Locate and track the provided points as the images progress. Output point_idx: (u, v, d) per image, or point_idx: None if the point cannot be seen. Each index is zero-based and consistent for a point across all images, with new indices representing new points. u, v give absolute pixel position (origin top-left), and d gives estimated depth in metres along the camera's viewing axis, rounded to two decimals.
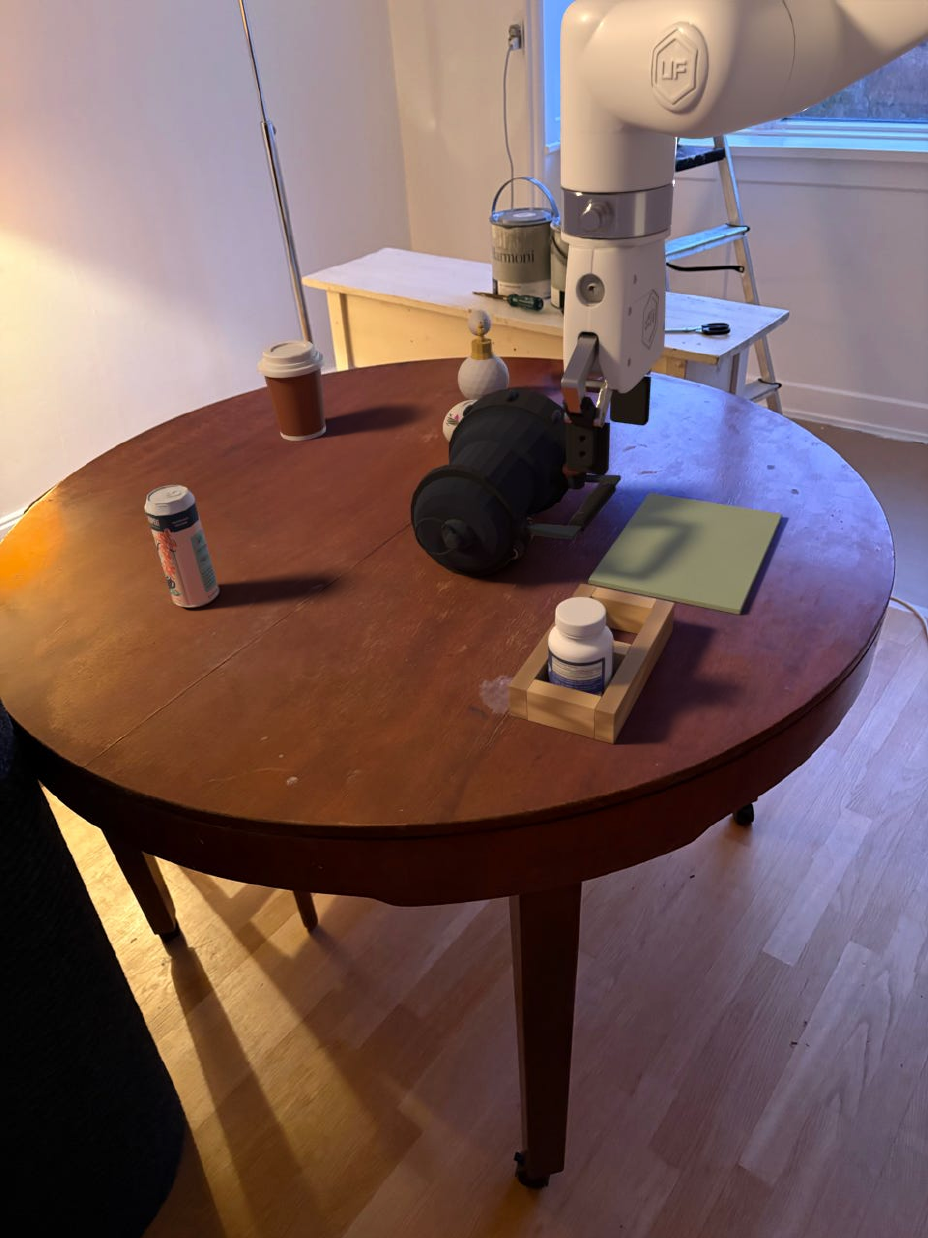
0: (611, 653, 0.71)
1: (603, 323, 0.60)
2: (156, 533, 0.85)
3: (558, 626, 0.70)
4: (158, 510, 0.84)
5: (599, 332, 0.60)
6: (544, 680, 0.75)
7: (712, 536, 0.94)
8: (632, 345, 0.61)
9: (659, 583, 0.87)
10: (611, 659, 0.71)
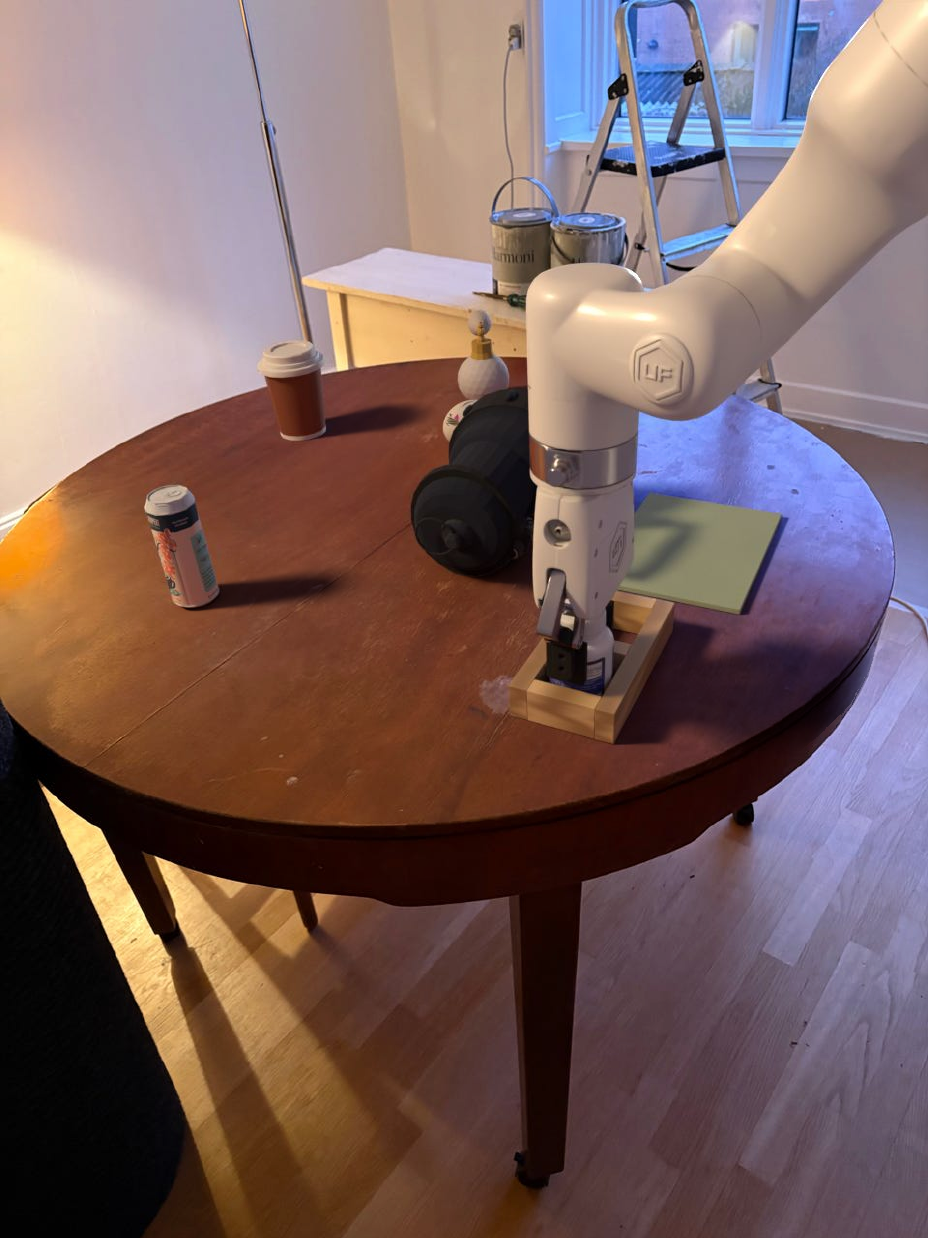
0: (611, 653, 0.71)
1: (570, 563, 0.62)
2: (156, 533, 0.85)
3: None
4: (158, 510, 0.84)
5: (566, 577, 0.63)
6: (544, 680, 0.75)
7: (712, 536, 0.94)
8: (599, 579, 0.63)
9: (659, 583, 0.87)
10: (611, 659, 0.71)
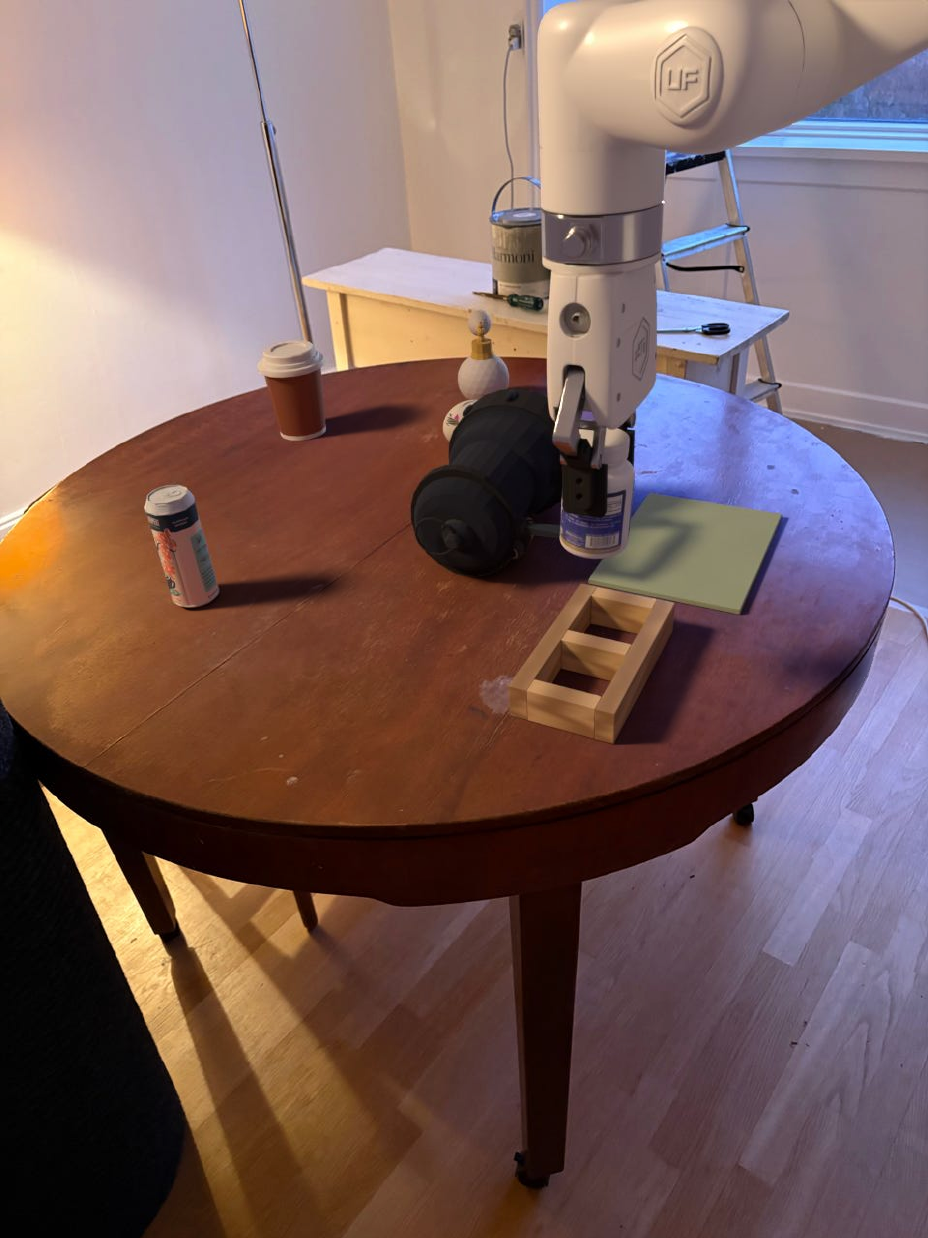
0: (632, 488, 0.65)
1: (589, 356, 0.55)
2: (156, 533, 0.85)
3: None
4: (158, 510, 0.84)
5: (585, 374, 0.56)
6: (544, 680, 0.75)
7: (712, 536, 0.94)
8: (621, 378, 0.57)
9: (659, 583, 0.87)
10: (631, 495, 0.65)
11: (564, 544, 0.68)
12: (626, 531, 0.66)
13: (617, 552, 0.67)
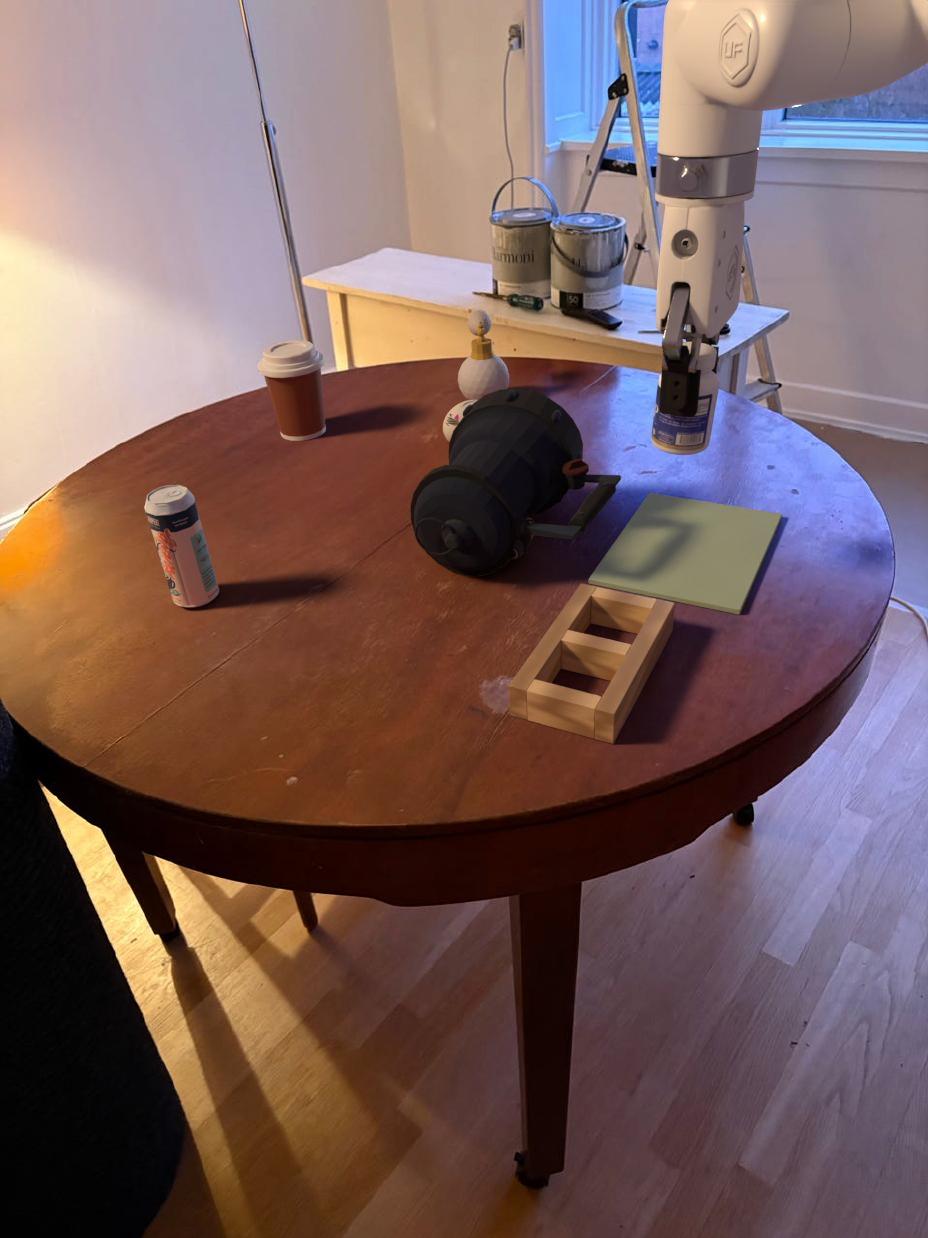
0: (717, 393, 0.78)
1: (695, 273, 0.68)
2: (156, 533, 0.85)
3: None
4: (158, 510, 0.84)
5: (690, 290, 0.69)
6: (544, 680, 0.75)
7: (712, 536, 0.94)
8: (719, 293, 0.69)
9: (659, 583, 0.87)
10: (715, 400, 0.78)
11: (655, 444, 0.81)
12: (709, 432, 0.79)
13: (701, 449, 0.80)
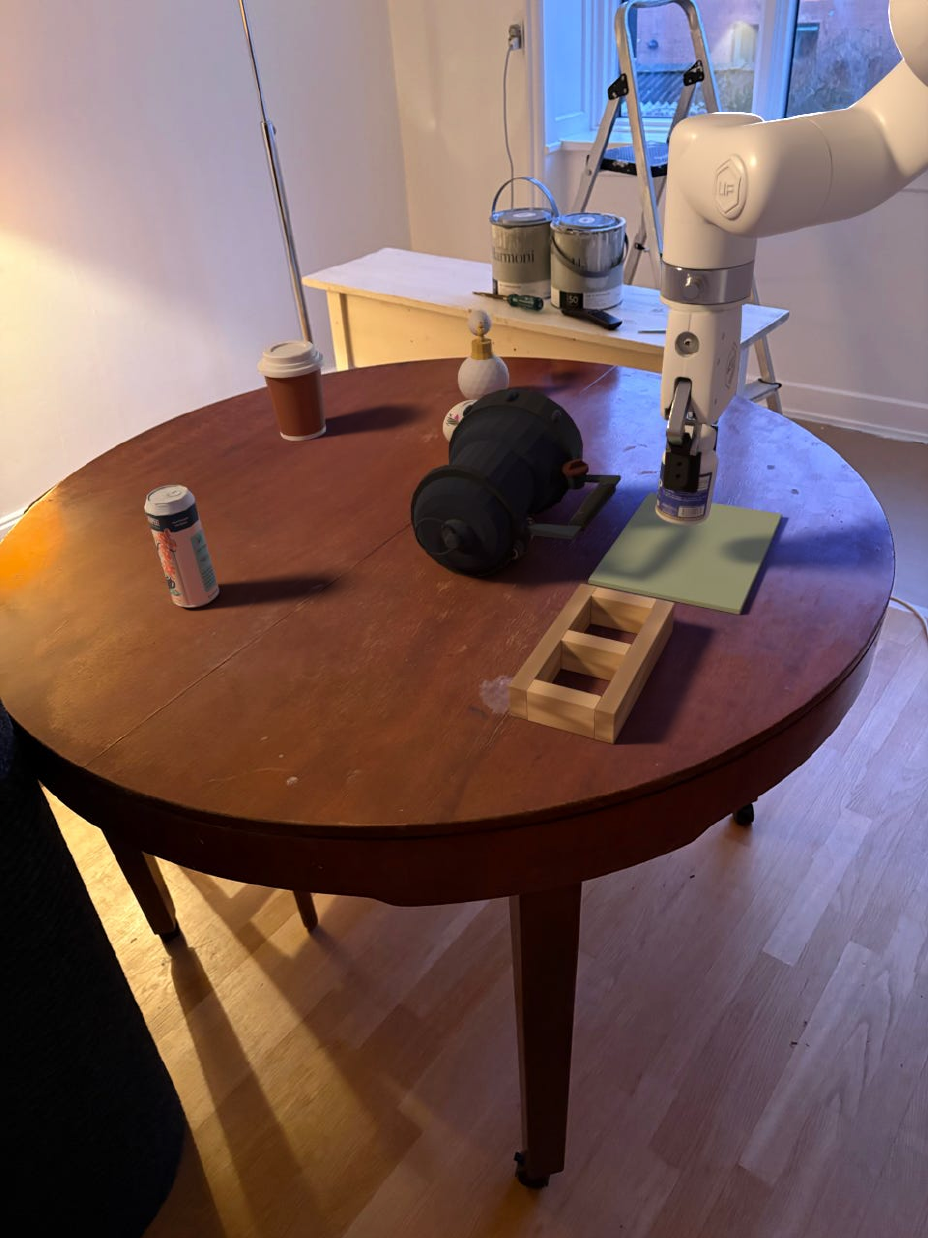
0: (716, 470, 0.84)
1: (696, 370, 0.75)
2: (156, 533, 0.85)
3: None
4: (158, 510, 0.84)
5: (692, 384, 0.75)
6: (544, 680, 0.75)
7: (712, 536, 0.94)
8: (718, 387, 0.76)
9: (659, 583, 0.87)
10: (715, 476, 0.84)
11: (659, 514, 0.87)
12: (709, 504, 0.86)
13: (702, 520, 0.86)
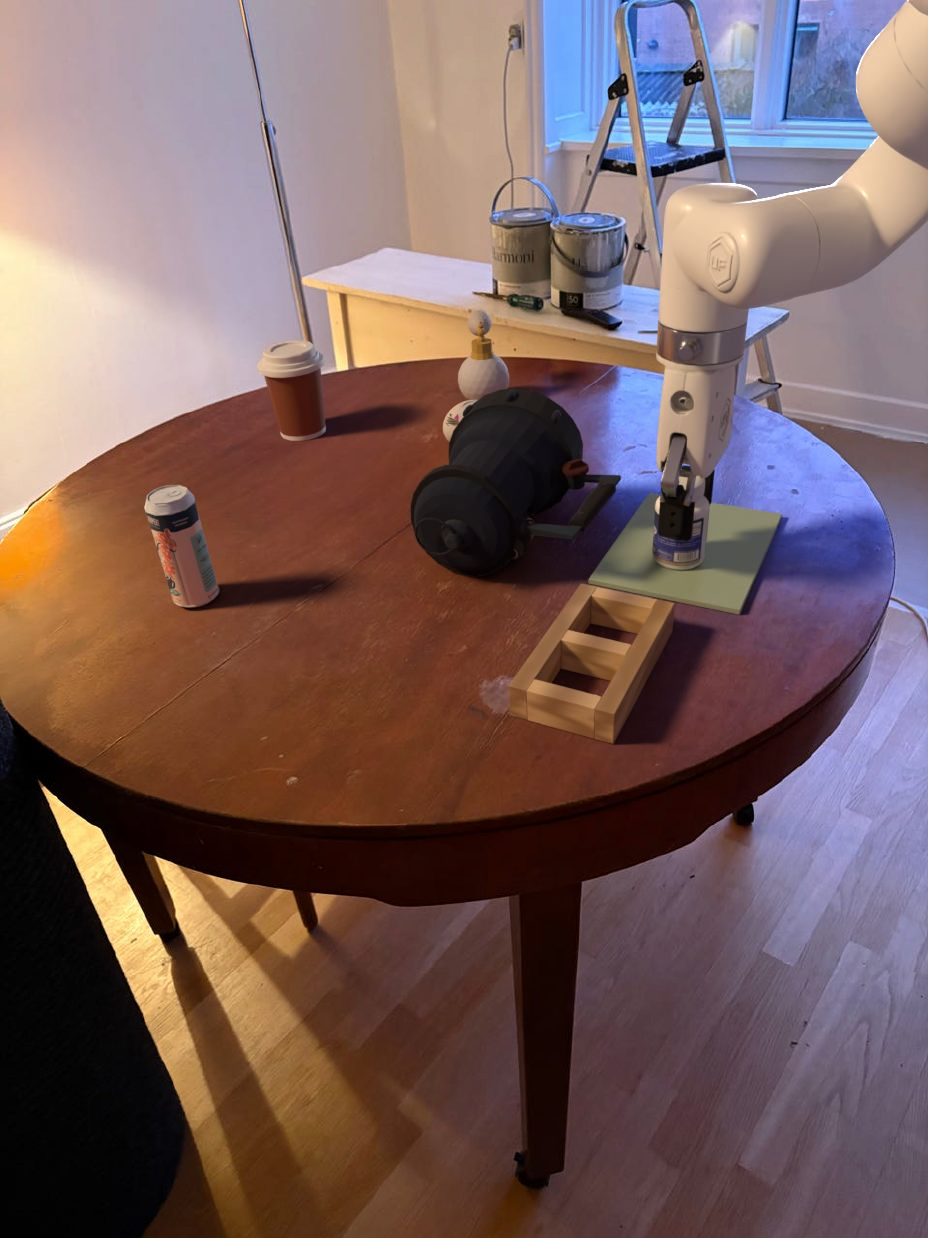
0: (708, 516, 0.87)
1: (691, 427, 0.77)
2: (156, 533, 0.85)
3: None
4: (158, 510, 0.84)
5: (687, 438, 0.78)
6: (544, 680, 0.75)
7: (712, 536, 0.94)
8: (712, 442, 0.79)
9: (659, 583, 0.87)
10: (707, 521, 0.87)
11: (656, 560, 0.90)
12: (704, 548, 0.89)
13: (697, 564, 0.89)
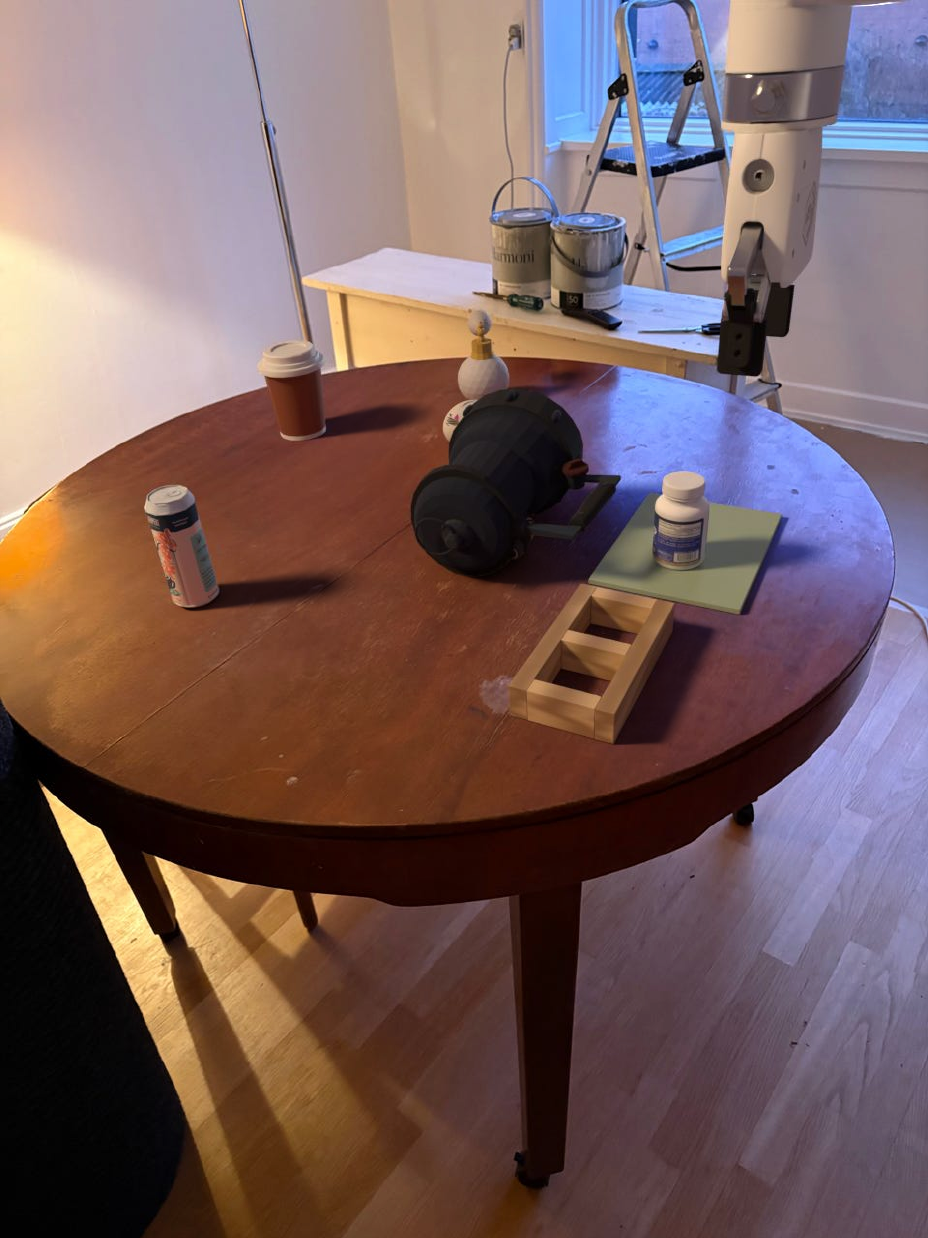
0: (708, 516, 0.87)
1: (770, 211, 0.59)
2: (156, 533, 0.85)
3: (666, 492, 0.86)
4: (158, 510, 0.84)
5: (765, 221, 0.60)
6: (544, 680, 0.75)
7: (712, 536, 0.94)
8: (796, 235, 0.60)
9: (659, 583, 0.87)
10: (707, 522, 0.87)
11: (656, 560, 0.90)
12: (703, 548, 0.89)
13: (697, 564, 0.89)
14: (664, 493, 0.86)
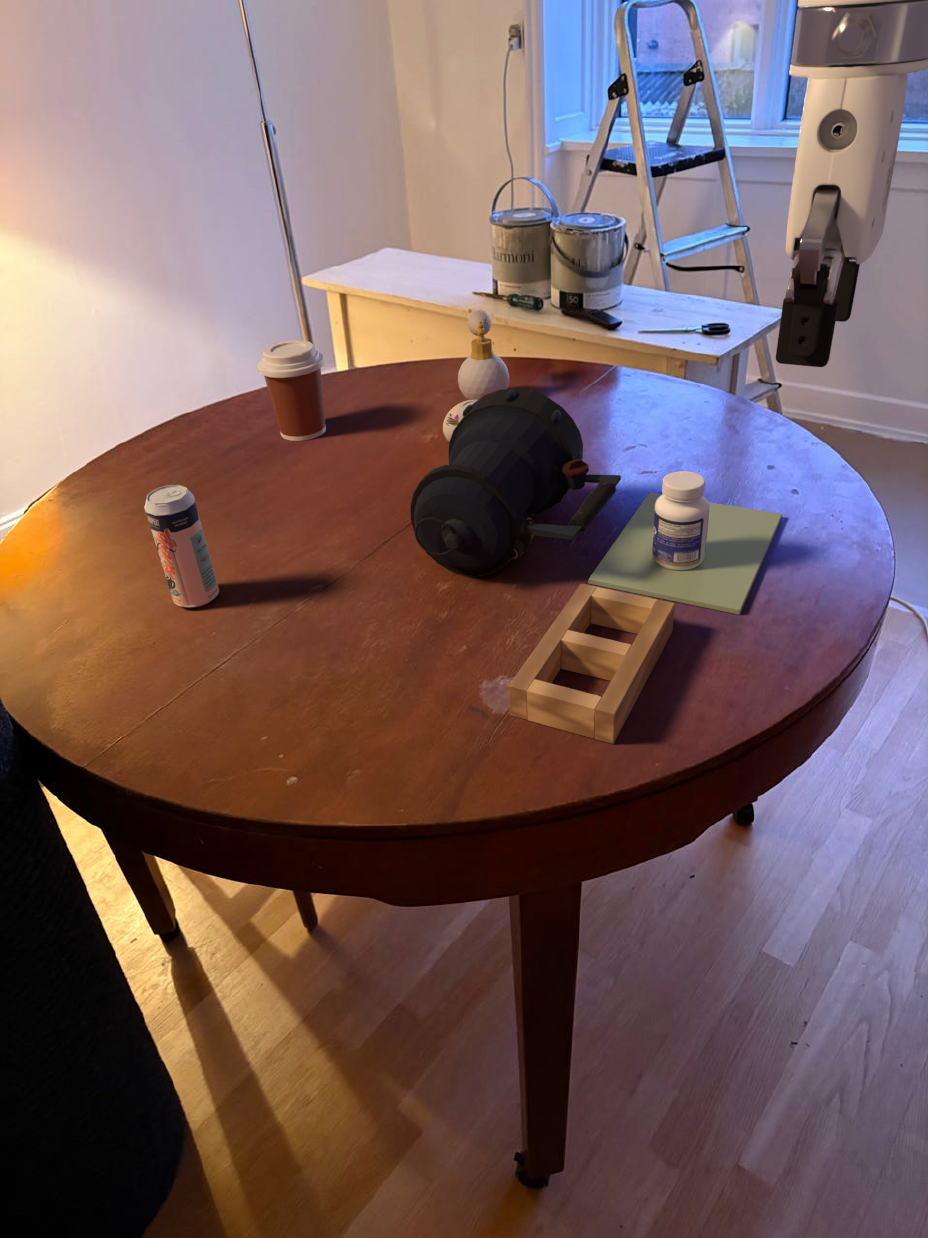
0: (707, 516, 0.87)
1: (849, 172, 0.50)
2: (156, 533, 0.85)
3: (665, 492, 0.86)
4: (158, 510, 0.84)
5: (843, 184, 0.51)
6: (544, 680, 0.75)
7: (712, 536, 0.94)
8: (878, 201, 0.52)
9: (659, 583, 0.87)
10: (707, 522, 0.87)
11: (656, 560, 0.90)
12: (703, 548, 0.89)
13: (697, 564, 0.89)
14: (664, 493, 0.86)
